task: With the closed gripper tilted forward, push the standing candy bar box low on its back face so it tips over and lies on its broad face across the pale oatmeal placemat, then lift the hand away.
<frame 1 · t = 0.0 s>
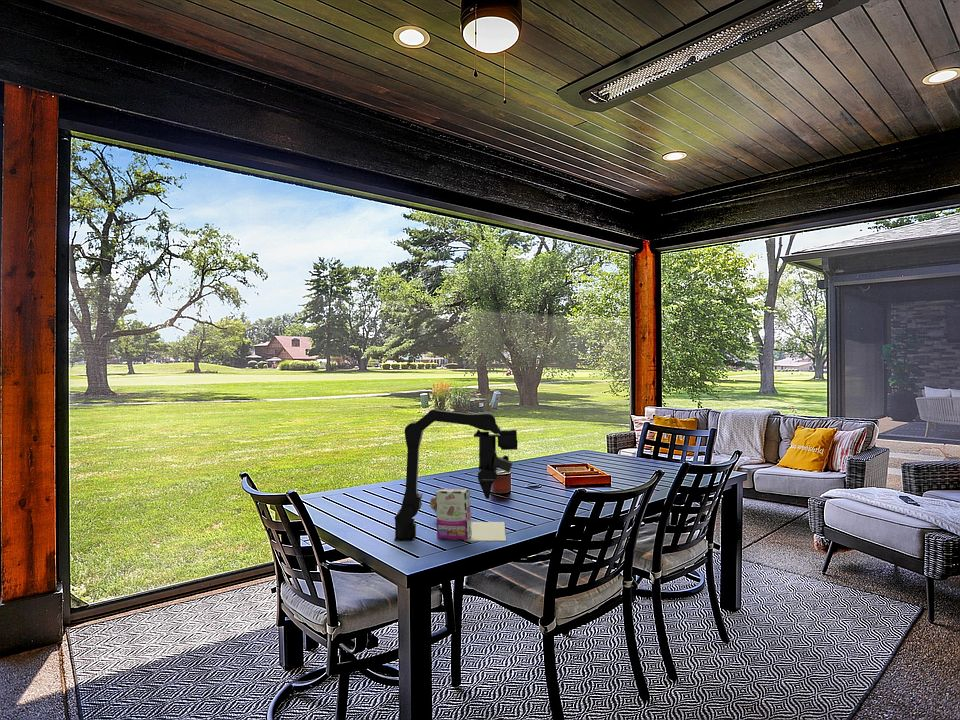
hand: (487, 495, 195), 15 cm above the table, tool pointing down, fingers open, 9 cm apart
lion figurine: (447, 521, 216), on the table
placemat: (485, 531, 203), on the table
candy bar box: (454, 538, 195), on the table, touching placemat
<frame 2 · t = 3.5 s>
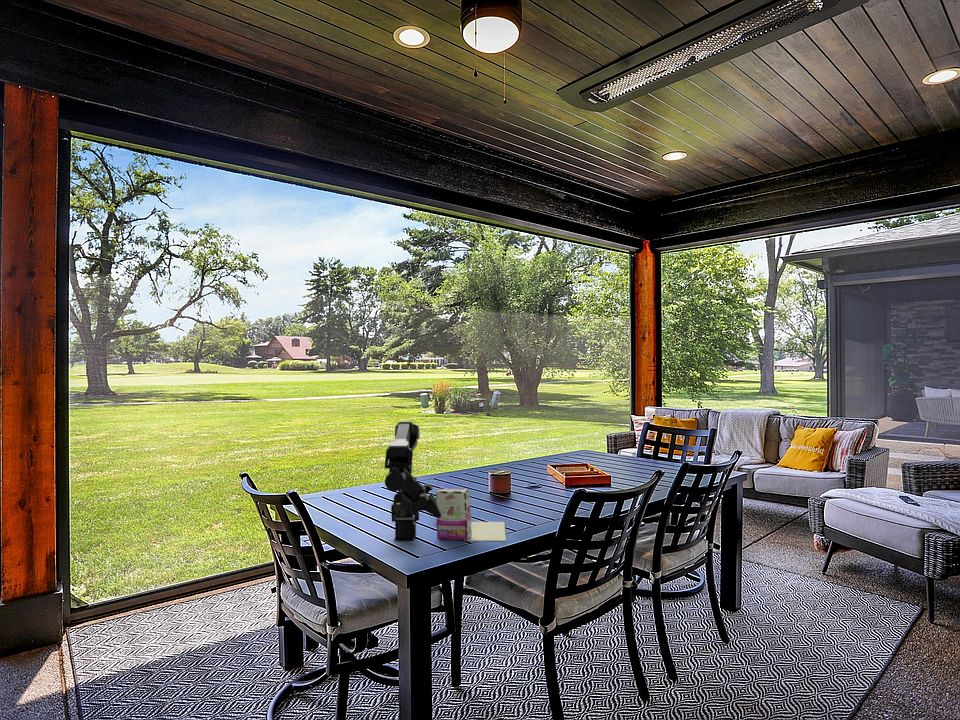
hand: (440, 517, 179), 12 cm above the table, tool tilted 45°, fingers closed
lion figurine: (450, 522, 216), on the table
everything else where it was.
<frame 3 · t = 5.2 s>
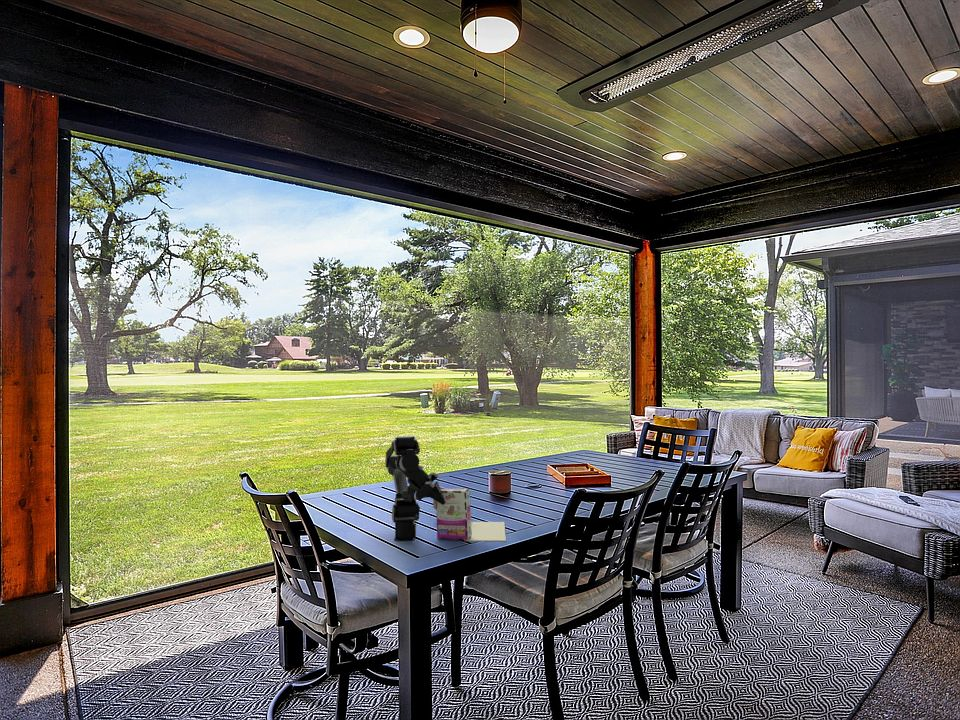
hand: (444, 503, 192), 13 cm above the table, tool tilted 45°, fingers closed
candy bar box: (454, 538, 195), on the table, touching gripper, placemat
everything else where it was.
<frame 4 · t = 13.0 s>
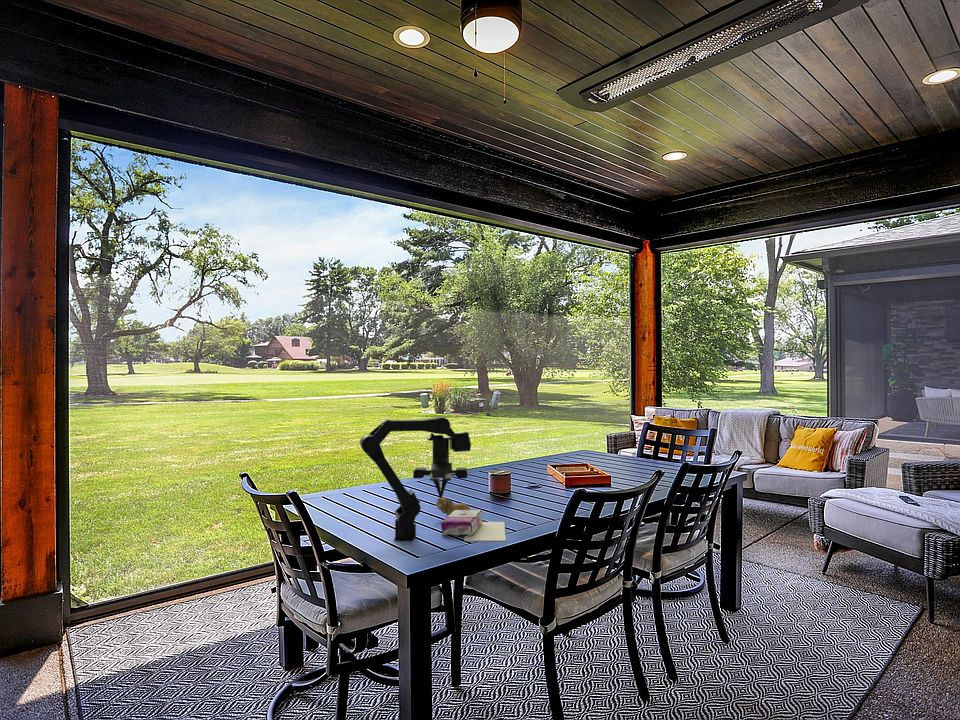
hand: (440, 497, 199), 13 cm above the table, tool pointing down, fingers closed
lion figurine: (454, 521, 216), on the table
candy bar box: (456, 529, 197), point 3 cm above the table, touching placemat
at the end: candy bar box tilted 89°; candy bar box touching placemat, table; candy bar box inside the target area (6.7 cm from its centre), point 2.5 cm above the table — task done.
